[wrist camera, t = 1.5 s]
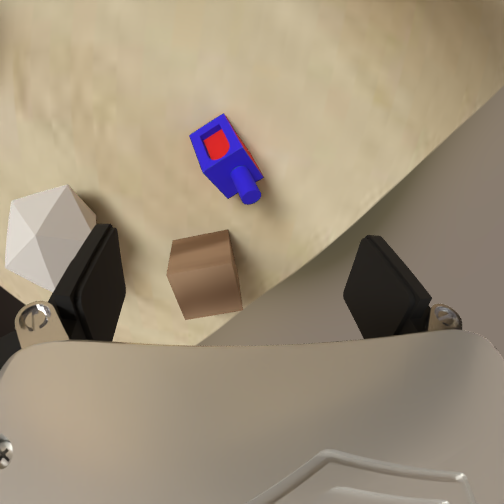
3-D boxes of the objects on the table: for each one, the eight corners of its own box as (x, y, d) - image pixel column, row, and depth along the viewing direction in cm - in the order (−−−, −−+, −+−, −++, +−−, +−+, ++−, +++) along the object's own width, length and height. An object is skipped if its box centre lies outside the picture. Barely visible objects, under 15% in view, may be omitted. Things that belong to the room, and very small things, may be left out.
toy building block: (212, 161, 24) (238, 223, 20) (188, 135, 21) (211, 198, 17) (243, 142, 23) (276, 201, 20) (223, 112, 20) (256, 171, 17)
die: (79, 150, 21) (-22, 194, 14) (134, 223, 21) (24, 291, 14) (69, 208, 26) (-7, 252, 19) (115, 272, 26) (37, 329, 19)
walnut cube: (172, 240, 26) (166, 275, 22) (227, 229, 26) (231, 262, 22) (187, 282, 29) (185, 319, 25) (237, 273, 29) (242, 310, 25)
